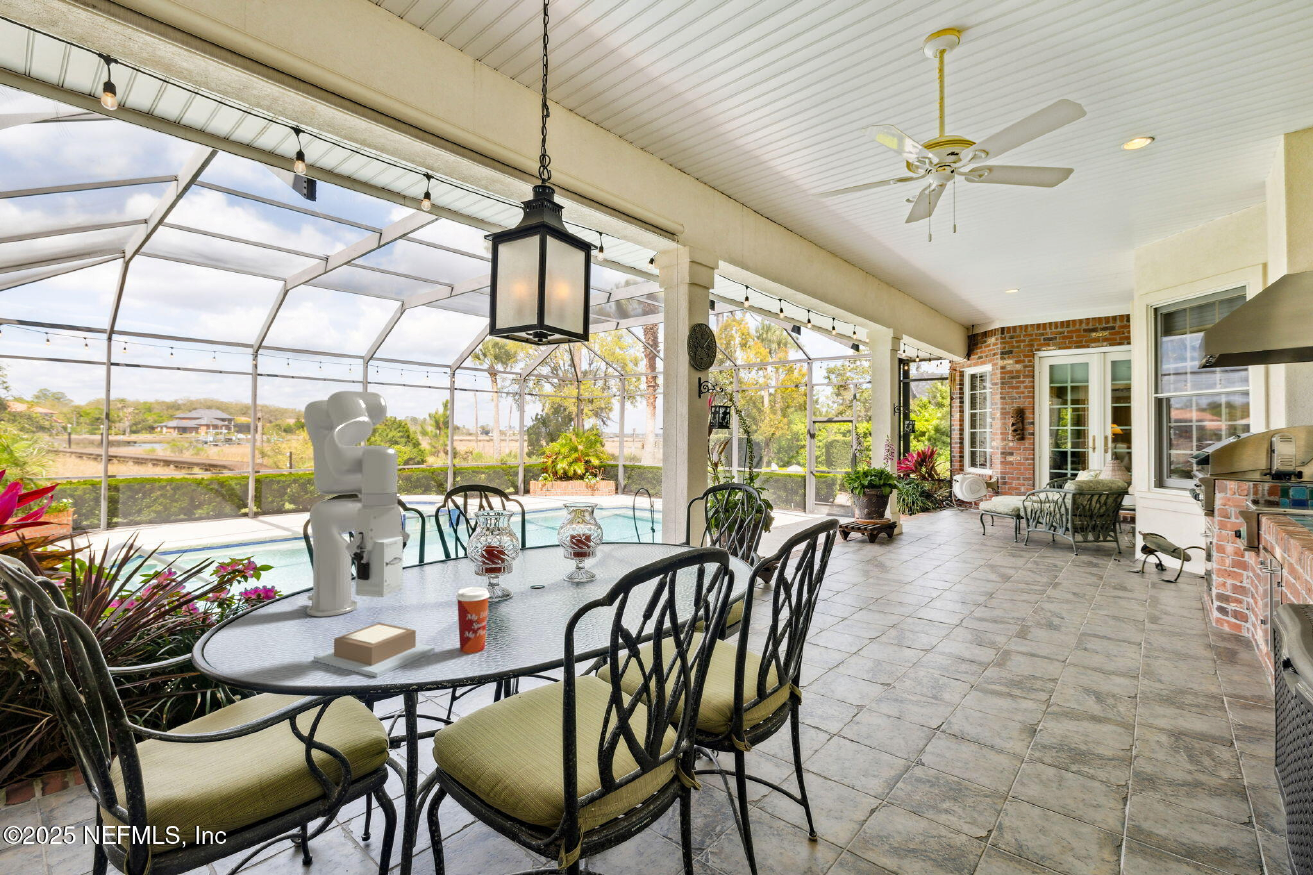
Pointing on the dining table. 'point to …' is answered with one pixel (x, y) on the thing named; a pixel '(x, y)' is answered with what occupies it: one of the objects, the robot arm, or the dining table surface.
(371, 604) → the dining table surface
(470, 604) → the paper cup
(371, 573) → the supplement box
